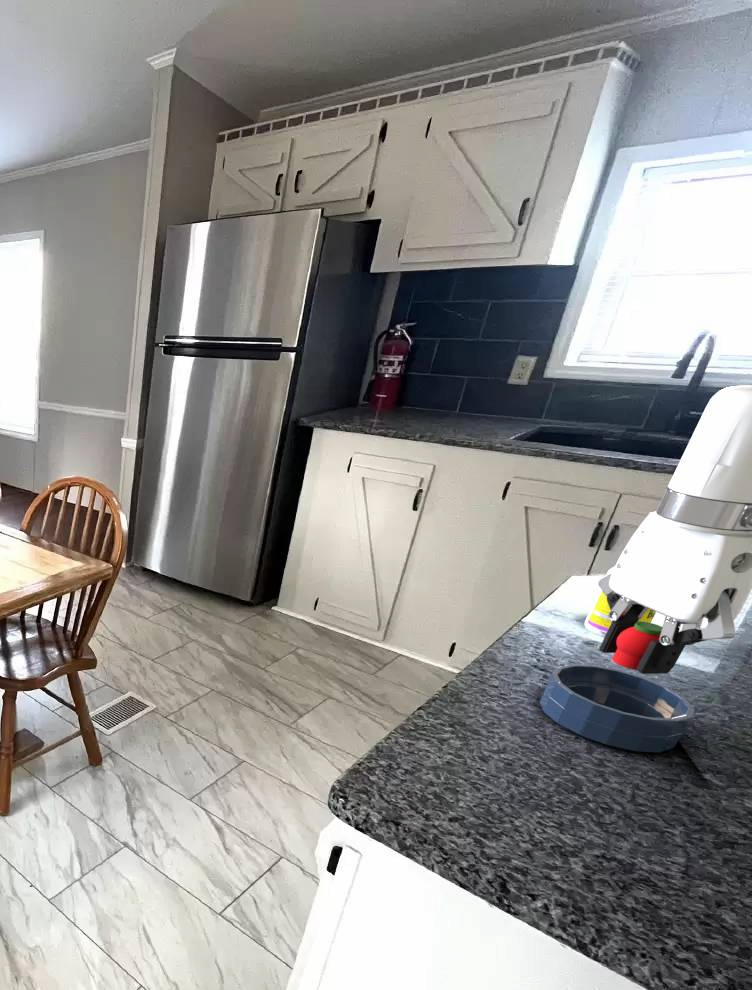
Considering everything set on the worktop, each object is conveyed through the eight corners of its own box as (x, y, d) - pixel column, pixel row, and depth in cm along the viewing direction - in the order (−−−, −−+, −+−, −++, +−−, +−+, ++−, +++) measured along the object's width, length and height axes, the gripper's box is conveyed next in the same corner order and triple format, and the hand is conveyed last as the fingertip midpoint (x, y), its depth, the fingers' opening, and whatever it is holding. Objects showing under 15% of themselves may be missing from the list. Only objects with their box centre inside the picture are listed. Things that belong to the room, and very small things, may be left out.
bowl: (652, 712, 79) (670, 679, 77) (691, 768, 70) (713, 732, 68) (529, 688, 85) (543, 656, 83) (550, 736, 76) (567, 702, 74)
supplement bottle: (643, 647, 94) (683, 567, 88) (582, 634, 98) (618, 556, 92) (640, 631, 98) (679, 554, 93) (583, 619, 102) (617, 544, 97)
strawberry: (648, 660, 75) (668, 623, 72) (660, 676, 71) (681, 637, 69) (602, 652, 76) (620, 615, 74) (613, 667, 73) (632, 629, 71)
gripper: (849, 537, 58) (745, 702, 66) (665, 489, 73) (598, 628, 81) (767, 538, 58) (673, 703, 66) (600, 490, 73) (539, 628, 81)
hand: (633, 660), depth 74 cm, fingers closed on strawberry, 3 cm apart
